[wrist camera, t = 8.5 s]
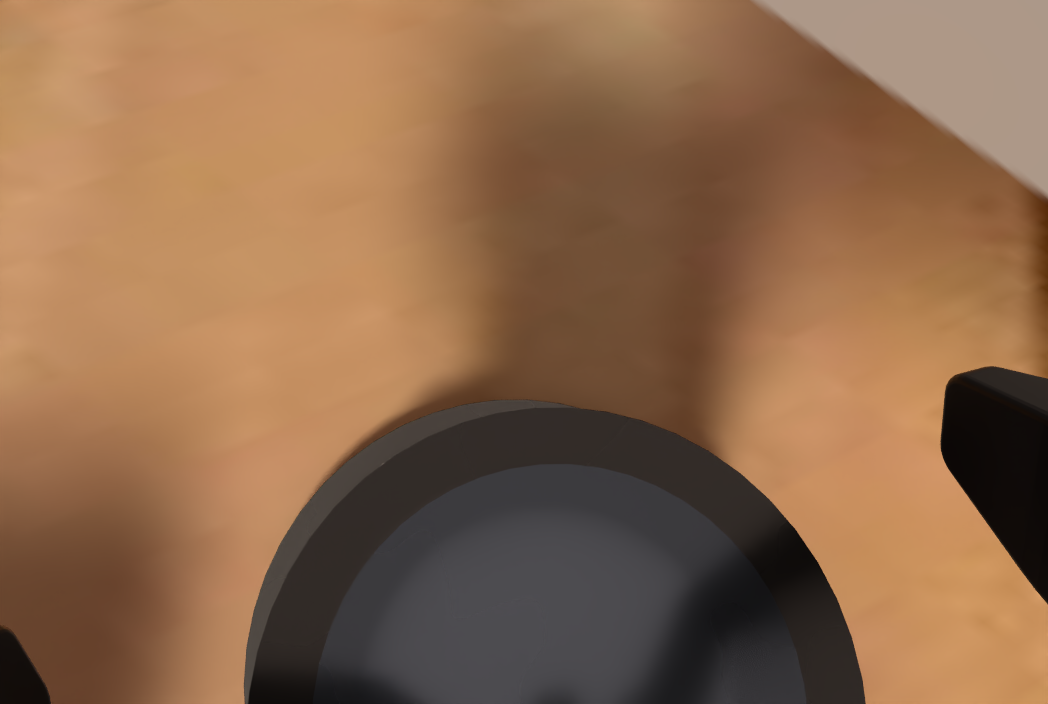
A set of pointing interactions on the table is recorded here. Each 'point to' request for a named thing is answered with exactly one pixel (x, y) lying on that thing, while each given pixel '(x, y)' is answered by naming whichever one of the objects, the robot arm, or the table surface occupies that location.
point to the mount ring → (342, 486)
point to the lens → (555, 579)
